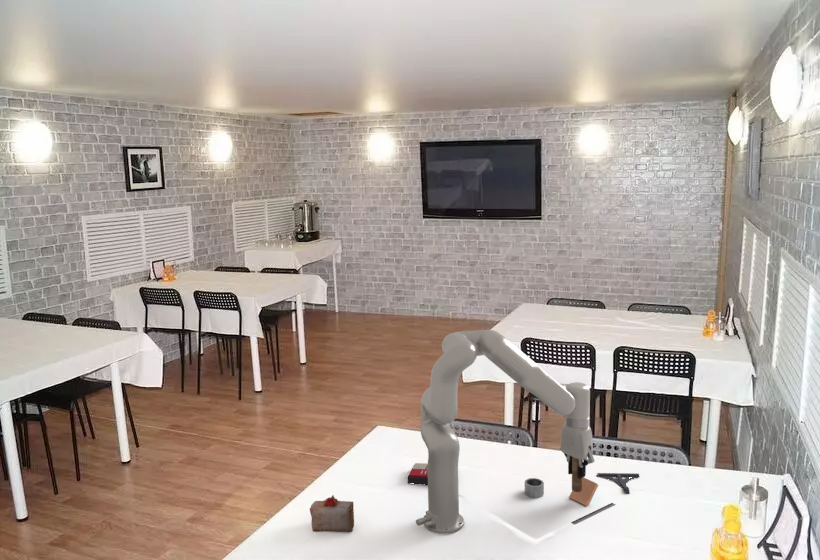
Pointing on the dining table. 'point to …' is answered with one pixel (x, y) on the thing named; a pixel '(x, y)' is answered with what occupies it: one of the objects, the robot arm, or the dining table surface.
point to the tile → (585, 492)
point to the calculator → (418, 474)
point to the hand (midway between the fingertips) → (576, 474)
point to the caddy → (534, 488)
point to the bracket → (619, 478)
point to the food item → (332, 515)
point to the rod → (575, 480)
